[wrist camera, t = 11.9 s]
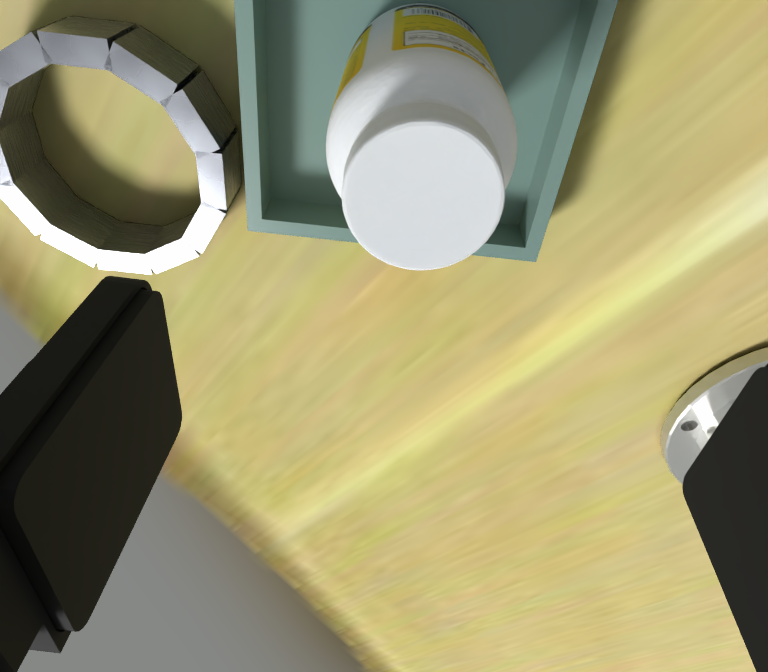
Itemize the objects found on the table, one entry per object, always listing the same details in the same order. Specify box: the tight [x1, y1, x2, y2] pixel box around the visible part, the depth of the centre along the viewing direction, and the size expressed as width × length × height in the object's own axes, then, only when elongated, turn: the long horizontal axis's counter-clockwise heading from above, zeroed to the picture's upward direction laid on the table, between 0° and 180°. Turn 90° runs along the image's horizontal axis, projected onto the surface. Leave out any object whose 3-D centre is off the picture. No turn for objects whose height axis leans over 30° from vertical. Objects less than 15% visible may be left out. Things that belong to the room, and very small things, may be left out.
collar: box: [0, 16, 241, 275], centre depth 23 cm, size 9×9×2 cm
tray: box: [234, 0, 618, 262], centre depth 21 cm, size 12×12×2 cm
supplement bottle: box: [326, 3, 517, 270], centre depth 17 cm, size 5×5×10 cm
